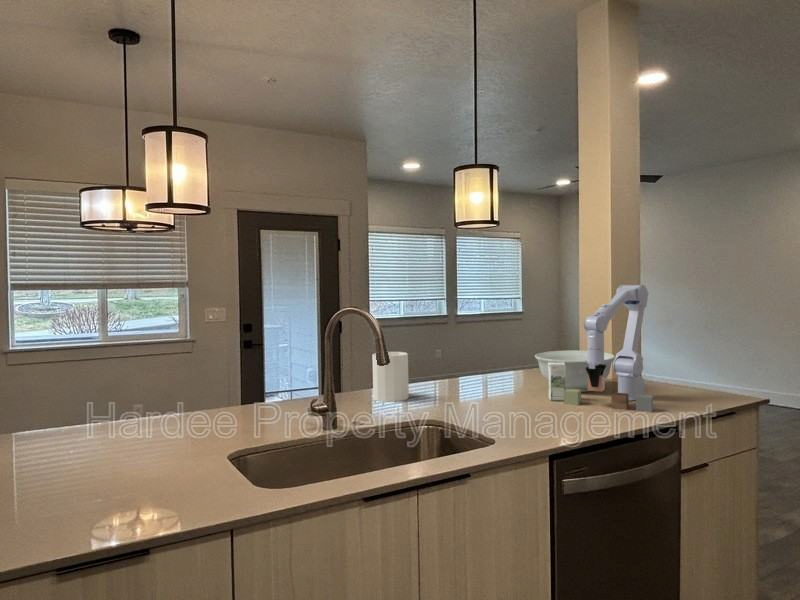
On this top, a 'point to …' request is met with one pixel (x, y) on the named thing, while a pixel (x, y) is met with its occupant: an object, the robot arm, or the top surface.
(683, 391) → the top surface
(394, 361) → the container
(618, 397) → the walnut block
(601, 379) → the terracotta block
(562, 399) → the syrup box
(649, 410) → the slate block
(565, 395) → the olive block
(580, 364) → the bowl
